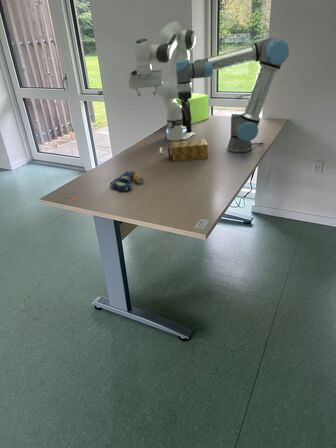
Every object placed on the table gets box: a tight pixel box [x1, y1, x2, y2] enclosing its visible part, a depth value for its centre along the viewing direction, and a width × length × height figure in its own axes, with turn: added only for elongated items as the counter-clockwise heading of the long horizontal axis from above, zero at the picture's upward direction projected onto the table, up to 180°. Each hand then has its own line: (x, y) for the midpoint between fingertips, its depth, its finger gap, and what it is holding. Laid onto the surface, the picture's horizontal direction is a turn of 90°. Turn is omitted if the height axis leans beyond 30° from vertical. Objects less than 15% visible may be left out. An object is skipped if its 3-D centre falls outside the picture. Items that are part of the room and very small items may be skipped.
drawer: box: [159, 143, 172, 160], centre depth 210 cm, size 26×10×7 cm, turn 91°
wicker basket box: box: [170, 138, 208, 162], centre depth 210 cm, size 22×11×9 cm, turn 91°
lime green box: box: [175, 91, 209, 125], centre depth 283 cm, size 25×21×23 cm
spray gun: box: [109, 170, 144, 192], centre depth 182 cm, size 21×4×15 cm
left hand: (146, 95), depth 204 cm, fingers open, 8 cm apart
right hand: (186, 129), depth 196 cm, fingers open, 13 cm apart
